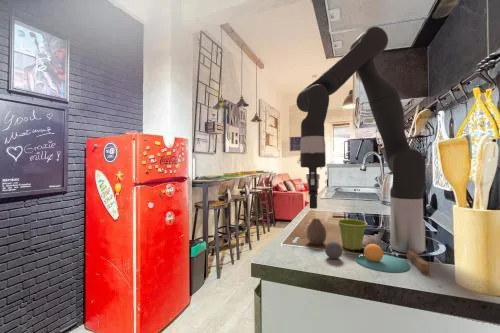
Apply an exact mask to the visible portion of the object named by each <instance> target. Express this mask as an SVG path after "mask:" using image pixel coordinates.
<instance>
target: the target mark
mask: <svg viewBox="0 0 500 333" xmlns="http://www.w3.org/2000/svg"><path fill="white" fill-rule="evenodd" d="M362 254H363V256H360V257H359V254H357V255H356V256H355V257H354V260H356V261H355V262H356V263H357V264H358V265H360V266H363V267H365V268H367V269H371V270H374V271H377V272H385V273H404V272H408V271H409V270H410V269H411V264H410V263H409V262H407V261H406V260H404V259H401V258H399V257H395V256H393V255H388V254H384V253H383V257H384V258H382V259H381V260H380V261H378V262H372V261H369V260H368V259H367V258H366V257H365V256H364V255H365V254H364V253H362Z"/></svg>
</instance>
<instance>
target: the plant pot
mask: <svg viewBox="0 0 500 333" xmlns="http://www.w3.org/2000/svg"><path fill="white" fill-rule="evenodd" d="M337 223H338V226H339V229H340V230H339V231H340V237H341V244H342V247H343V248H345V249H348V250H350V251H351V250H352V251H354V250H362V248H363V243H364V234H365V230H366V226H367V225H368V223H367V222H366V221H362V220H359V219H349V218H347V219H346V218H345V219H343V218H342V219H338V220H337Z"/></svg>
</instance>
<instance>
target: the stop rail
mask: <svg viewBox="0 0 500 333" xmlns="http://www.w3.org/2000/svg"><path fill="white" fill-rule="evenodd" d="M406 252H407V253H406V259H409V260H410V261H411V262H410V261H409V260H408V261H409V262H410V263H411V264H412V265H413V266H414V267H415V268H416V269H417V270H418V271H419V273H421V275H428V276H429V275H430V264H429V263H428V262H427V261H426V260H425V259H423V257H421V256H420V255H419V254H417V253H416V252H414V251H413V250H408V249H406Z"/></svg>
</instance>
